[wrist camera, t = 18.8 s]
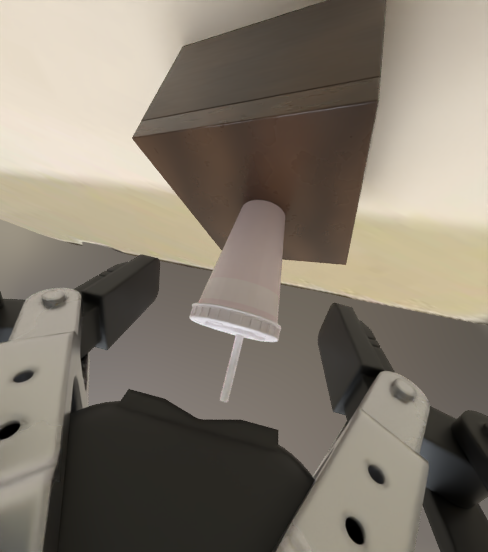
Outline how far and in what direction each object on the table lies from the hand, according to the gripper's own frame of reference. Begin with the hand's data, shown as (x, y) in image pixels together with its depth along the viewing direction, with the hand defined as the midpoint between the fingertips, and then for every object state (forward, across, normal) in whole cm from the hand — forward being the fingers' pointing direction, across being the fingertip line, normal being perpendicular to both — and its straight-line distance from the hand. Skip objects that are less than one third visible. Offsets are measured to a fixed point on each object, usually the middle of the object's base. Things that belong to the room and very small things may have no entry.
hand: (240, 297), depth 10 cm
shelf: (+18, 0, -9) cm, 20 cm away
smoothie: (+10, 0, -2) cm, 11 cm away
